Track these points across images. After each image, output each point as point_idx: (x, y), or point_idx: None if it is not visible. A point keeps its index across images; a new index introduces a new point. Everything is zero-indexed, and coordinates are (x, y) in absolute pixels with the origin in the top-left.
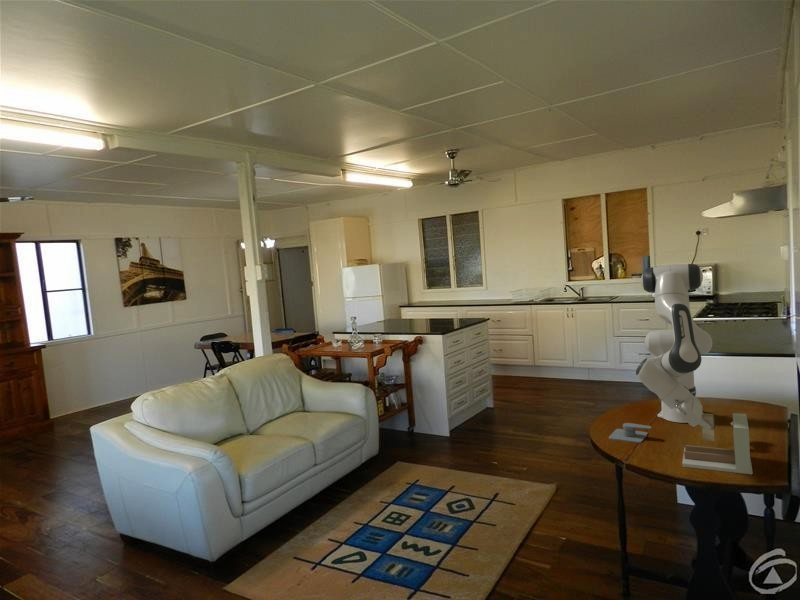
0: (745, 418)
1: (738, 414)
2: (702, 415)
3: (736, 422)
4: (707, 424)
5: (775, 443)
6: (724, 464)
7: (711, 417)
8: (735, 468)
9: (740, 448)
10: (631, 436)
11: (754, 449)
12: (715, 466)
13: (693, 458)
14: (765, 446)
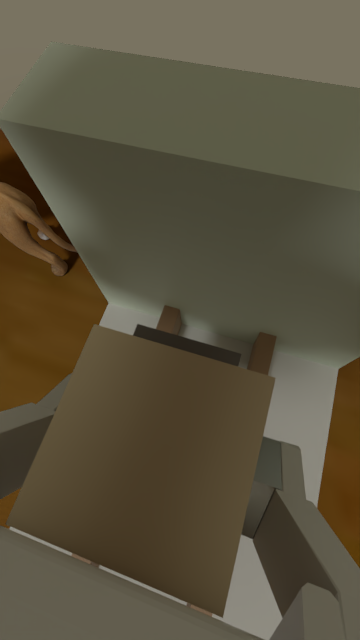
0: (188, 70)
1: (47, 88)
2: (156, 563)
3: (335, 162)
4: (299, 497)
5: (8, 145)
6: (279, 401)
7: (266, 409)
8: (329, 367)
9: None
10: None
11: (55, 220)
12: (315, 459)
13: None
14: (31, 179)
